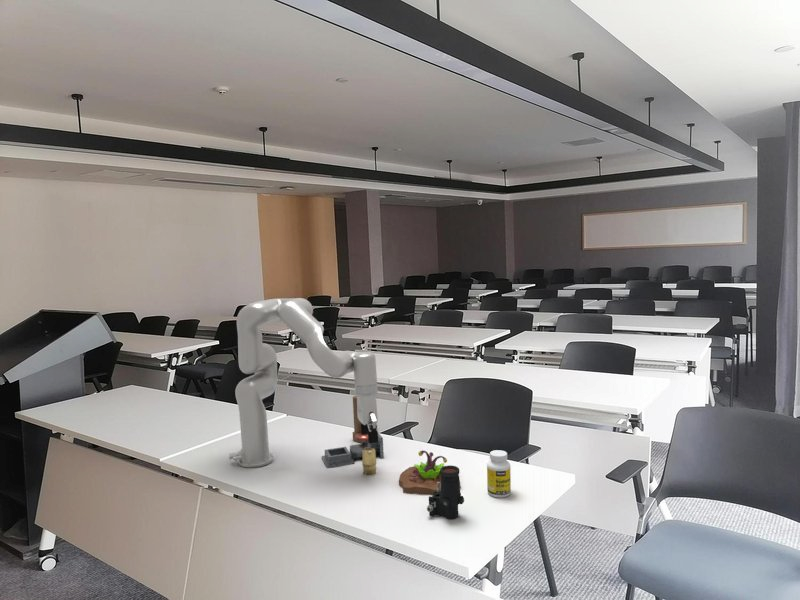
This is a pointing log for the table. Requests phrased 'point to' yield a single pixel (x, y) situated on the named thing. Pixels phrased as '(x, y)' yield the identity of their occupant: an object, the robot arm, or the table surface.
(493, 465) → the supplement bottle
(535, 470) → the table surface
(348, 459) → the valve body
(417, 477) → the plant
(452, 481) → the scope
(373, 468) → the cylinder
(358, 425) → the wooden block
